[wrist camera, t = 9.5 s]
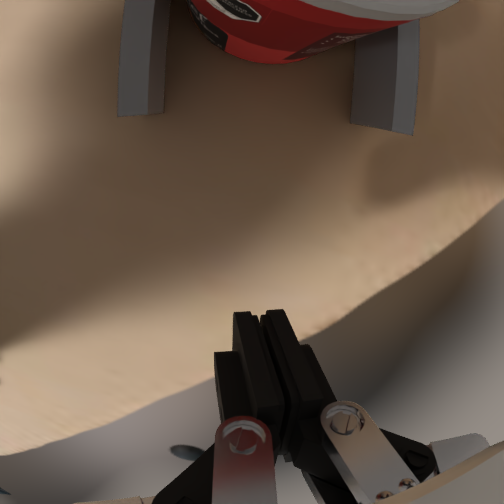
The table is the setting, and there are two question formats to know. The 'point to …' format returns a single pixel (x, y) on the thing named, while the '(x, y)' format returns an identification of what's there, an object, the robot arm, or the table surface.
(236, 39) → the canned food
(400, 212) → the table surface
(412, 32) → the frame
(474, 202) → the table surface
